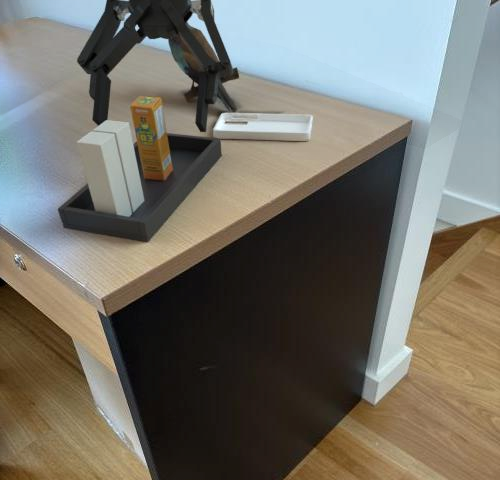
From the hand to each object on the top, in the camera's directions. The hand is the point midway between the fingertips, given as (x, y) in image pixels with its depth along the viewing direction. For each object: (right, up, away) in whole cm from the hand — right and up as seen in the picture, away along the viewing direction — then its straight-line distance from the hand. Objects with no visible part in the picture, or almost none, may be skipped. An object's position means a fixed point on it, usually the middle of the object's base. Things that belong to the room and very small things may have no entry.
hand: (149, 126), depth 66 cm
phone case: (+15, +5, +16) cm, 22 cm away
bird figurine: (+6, +16, +27) cm, 32 cm away
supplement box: (0, -5, +5) cm, 7 cm away
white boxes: (-3, -12, -2) cm, 12 cm away
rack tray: (-1, -7, +3) cm, 8 cm away
